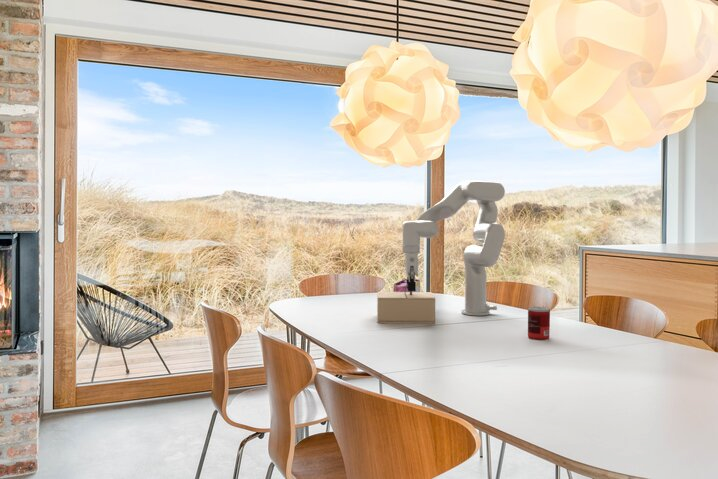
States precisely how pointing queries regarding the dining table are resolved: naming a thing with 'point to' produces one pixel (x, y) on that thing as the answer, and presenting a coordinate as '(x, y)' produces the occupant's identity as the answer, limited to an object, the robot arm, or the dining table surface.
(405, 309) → the carton
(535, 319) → the canned food
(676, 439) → the dining table surface
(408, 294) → the carton flap
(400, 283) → the gum box
